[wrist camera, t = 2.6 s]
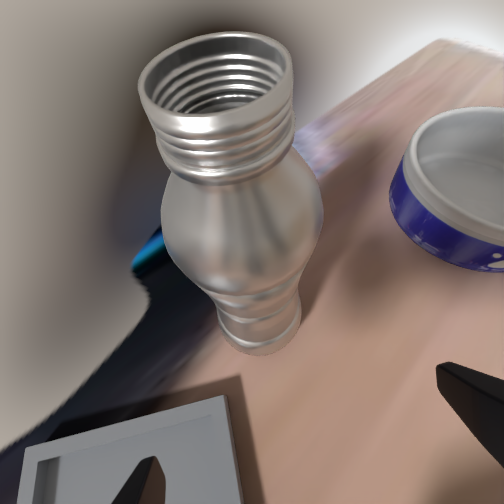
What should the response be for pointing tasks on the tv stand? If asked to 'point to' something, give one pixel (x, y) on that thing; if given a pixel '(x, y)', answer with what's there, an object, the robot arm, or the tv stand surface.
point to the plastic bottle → (235, 181)
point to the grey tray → (133, 451)
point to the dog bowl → (455, 188)
